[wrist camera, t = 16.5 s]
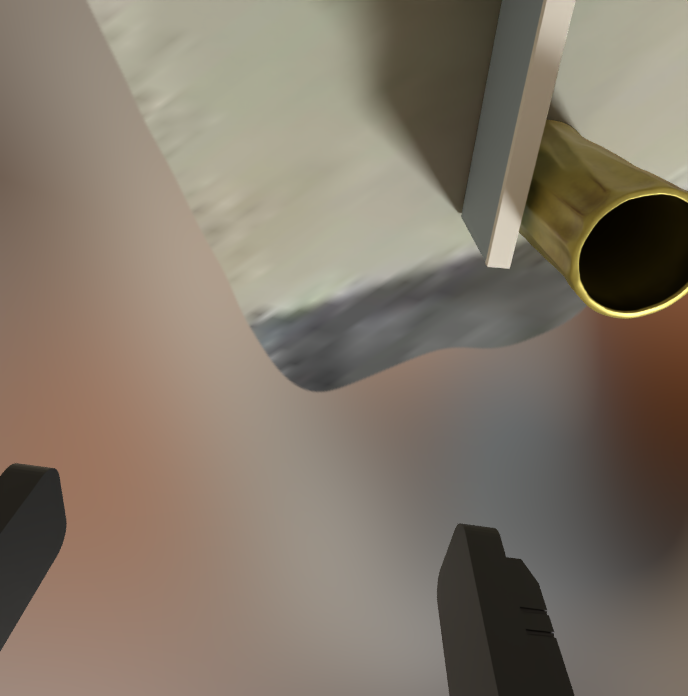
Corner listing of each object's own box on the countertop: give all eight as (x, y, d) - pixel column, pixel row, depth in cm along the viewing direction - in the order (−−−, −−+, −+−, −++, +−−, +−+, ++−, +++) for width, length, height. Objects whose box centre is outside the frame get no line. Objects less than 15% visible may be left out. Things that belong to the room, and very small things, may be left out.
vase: (519, 101, 31) (624, 145, 18) (610, 145, 32) (769, 214, 19) (467, 201, 33) (527, 297, 21) (552, 238, 34) (657, 350, 22)
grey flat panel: (508, -54, 27) (563, -90, 19) (535, -52, 27) (602, -86, 19) (457, 216, 34) (484, 267, 26) (479, 218, 34) (513, 270, 26)
